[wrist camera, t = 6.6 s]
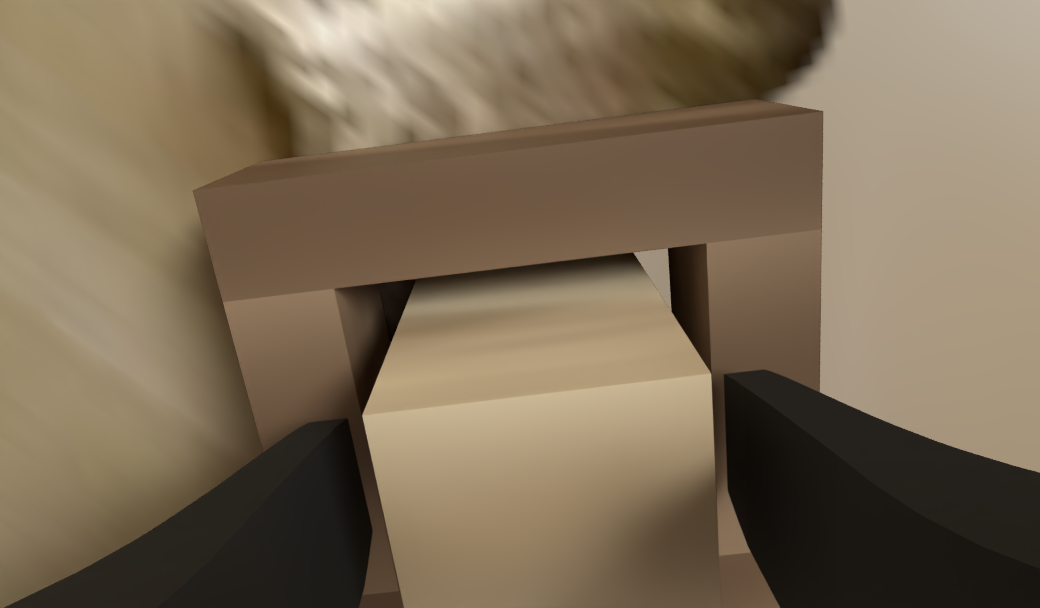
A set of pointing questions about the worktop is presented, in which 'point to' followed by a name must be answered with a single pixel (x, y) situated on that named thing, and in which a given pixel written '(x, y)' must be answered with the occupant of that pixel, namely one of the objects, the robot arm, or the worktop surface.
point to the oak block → (546, 443)
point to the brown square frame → (524, 260)
